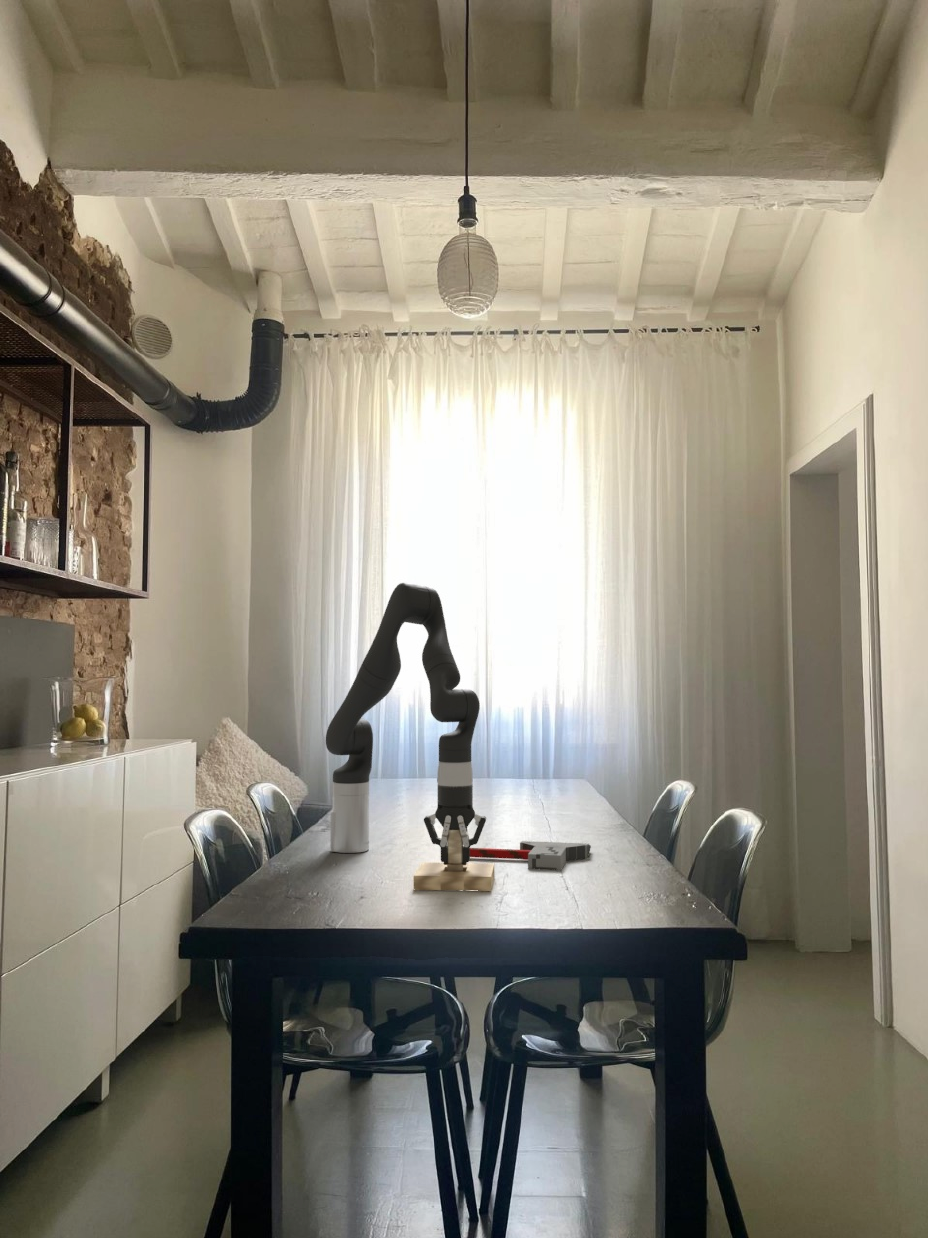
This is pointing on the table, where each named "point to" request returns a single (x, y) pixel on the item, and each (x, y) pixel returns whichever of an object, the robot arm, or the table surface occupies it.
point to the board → (454, 877)
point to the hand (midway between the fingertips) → (455, 864)
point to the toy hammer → (539, 853)
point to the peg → (454, 851)
